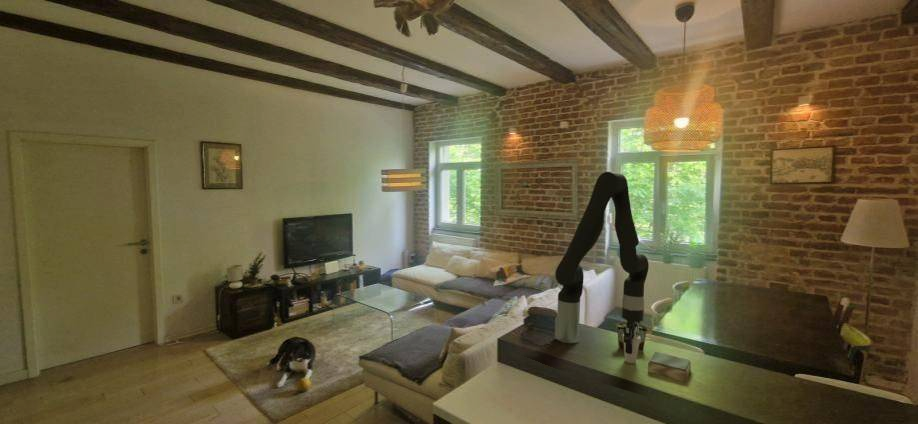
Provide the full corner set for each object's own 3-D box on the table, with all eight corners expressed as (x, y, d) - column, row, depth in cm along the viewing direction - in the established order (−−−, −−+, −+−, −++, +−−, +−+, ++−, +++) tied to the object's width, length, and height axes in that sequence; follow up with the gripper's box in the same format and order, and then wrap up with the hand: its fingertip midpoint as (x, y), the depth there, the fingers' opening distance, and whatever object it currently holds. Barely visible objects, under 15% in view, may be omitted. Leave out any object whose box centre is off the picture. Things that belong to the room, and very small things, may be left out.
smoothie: (631, 366, 143) (633, 328, 142) (617, 359, 148) (619, 323, 148) (643, 363, 145) (645, 326, 145) (629, 356, 151) (630, 321, 151)
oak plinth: (647, 371, 138) (648, 360, 138) (653, 361, 147) (654, 351, 147) (686, 382, 131) (687, 370, 131) (690, 370, 140) (691, 359, 140)
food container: (641, 345, 163) (642, 322, 162) (647, 351, 157) (648, 327, 156) (611, 344, 164) (612, 320, 164) (615, 349, 158) (616, 325, 158)
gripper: (627, 300, 154) (625, 342, 155) (617, 308, 142) (615, 353, 143) (647, 304, 149) (645, 347, 150) (639, 313, 138) (637, 359, 139)
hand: (630, 350), depth 147 cm, fingers closed on smoothie, 6 cm apart
